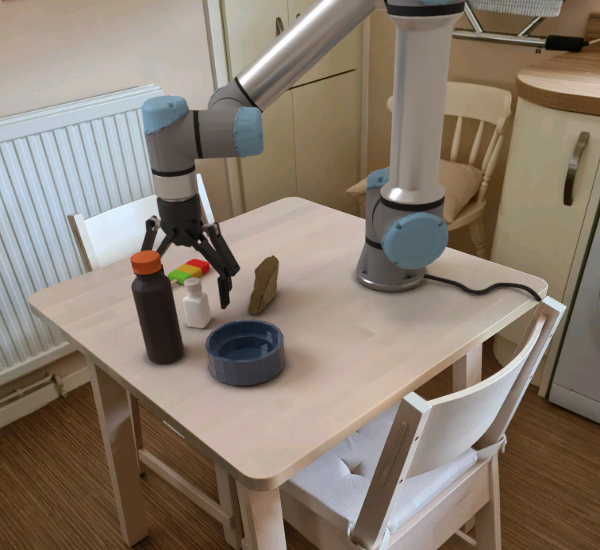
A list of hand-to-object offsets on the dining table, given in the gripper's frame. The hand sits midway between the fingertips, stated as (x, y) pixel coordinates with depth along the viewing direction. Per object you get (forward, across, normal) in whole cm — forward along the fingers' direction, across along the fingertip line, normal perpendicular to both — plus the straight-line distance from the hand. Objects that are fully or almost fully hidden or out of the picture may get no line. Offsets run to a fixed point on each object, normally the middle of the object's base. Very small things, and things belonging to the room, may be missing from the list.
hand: (194, 301), depth 121 cm
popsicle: (+5, +12, -16) cm, 21 cm away
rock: (+5, -9, -11) cm, 15 cm away
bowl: (+5, -15, +11) cm, 19 cm away
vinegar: (+5, +1, +12) cm, 13 cm away
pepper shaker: (+5, 0, 0) cm, 5 cm away
